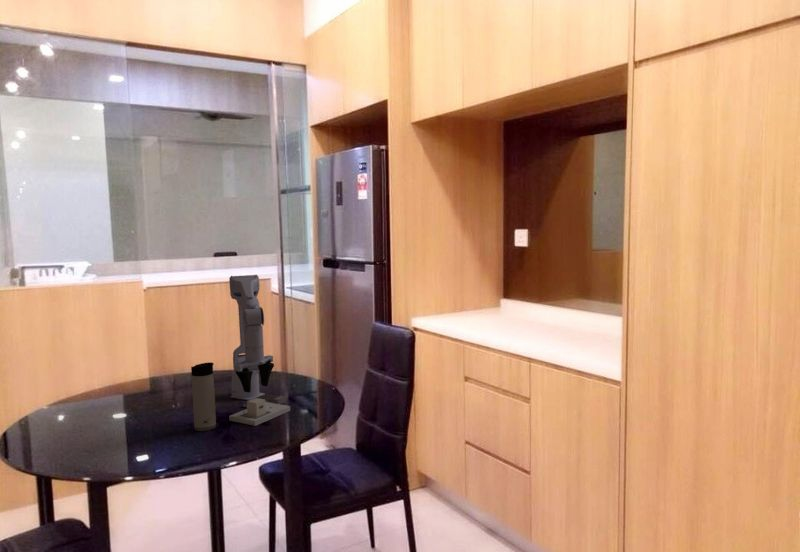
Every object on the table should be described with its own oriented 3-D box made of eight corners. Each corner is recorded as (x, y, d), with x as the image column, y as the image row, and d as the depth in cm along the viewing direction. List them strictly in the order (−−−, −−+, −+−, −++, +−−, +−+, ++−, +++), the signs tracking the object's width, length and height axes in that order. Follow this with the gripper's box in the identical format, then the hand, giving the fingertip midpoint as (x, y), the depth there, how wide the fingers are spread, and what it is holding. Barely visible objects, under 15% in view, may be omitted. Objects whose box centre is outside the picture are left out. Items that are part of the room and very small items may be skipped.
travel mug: (210, 432, 165) (206, 365, 164) (190, 431, 167) (186, 365, 165) (221, 424, 171) (217, 360, 170) (201, 423, 173) (198, 360, 171)
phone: (243, 407, 189) (242, 403, 189) (268, 397, 199) (267, 394, 199) (255, 409, 186) (254, 406, 186) (279, 399, 196) (279, 396, 196)
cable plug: (265, 412, 185) (265, 405, 185) (260, 411, 186) (259, 404, 186) (286, 403, 194) (286, 396, 194) (281, 402, 195) (281, 395, 195)
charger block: (247, 420, 175) (246, 401, 175) (256, 416, 179) (256, 398, 178) (257, 422, 173) (256, 403, 173) (266, 418, 177) (265, 399, 176)
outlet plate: (229, 420, 175) (229, 415, 175) (265, 406, 189) (265, 401, 189) (255, 425, 170) (255, 420, 169) (290, 410, 183) (290, 405, 183)
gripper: (246, 352, 167) (248, 396, 168) (279, 343, 180) (281, 384, 181) (229, 350, 171) (231, 393, 172) (263, 341, 183) (265, 382, 184)
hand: (256, 388), depth 176 cm, fingers open, 7 cm apart
